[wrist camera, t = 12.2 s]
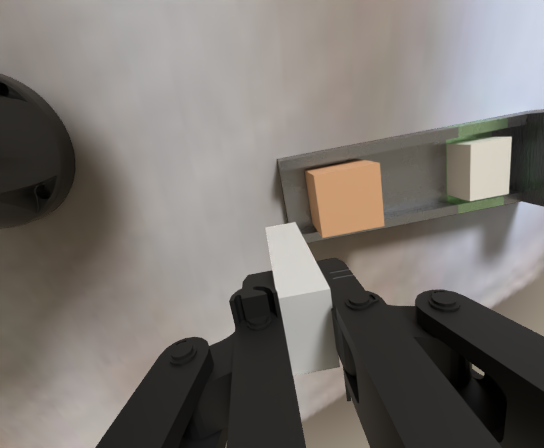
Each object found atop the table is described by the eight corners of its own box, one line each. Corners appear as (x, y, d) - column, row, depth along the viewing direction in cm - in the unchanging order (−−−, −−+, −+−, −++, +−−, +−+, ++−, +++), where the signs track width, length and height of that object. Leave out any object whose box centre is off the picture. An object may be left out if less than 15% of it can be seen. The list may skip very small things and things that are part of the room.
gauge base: (290, 235, 34) (299, 260, 27) (276, 159, 32) (283, 164, 25) (522, 190, 35) (589, 204, 28) (528, 110, 32) (603, 103, 25)
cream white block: (447, 194, 33) (469, 201, 29) (446, 143, 31) (470, 144, 28) (482, 187, 33) (508, 193, 29) (483, 136, 31) (511, 136, 28)
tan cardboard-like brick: (312, 223, 33) (322, 238, 28) (304, 169, 31) (313, 175, 26) (365, 213, 33) (384, 226, 28) (360, 159, 31) (379, 162, 26)
